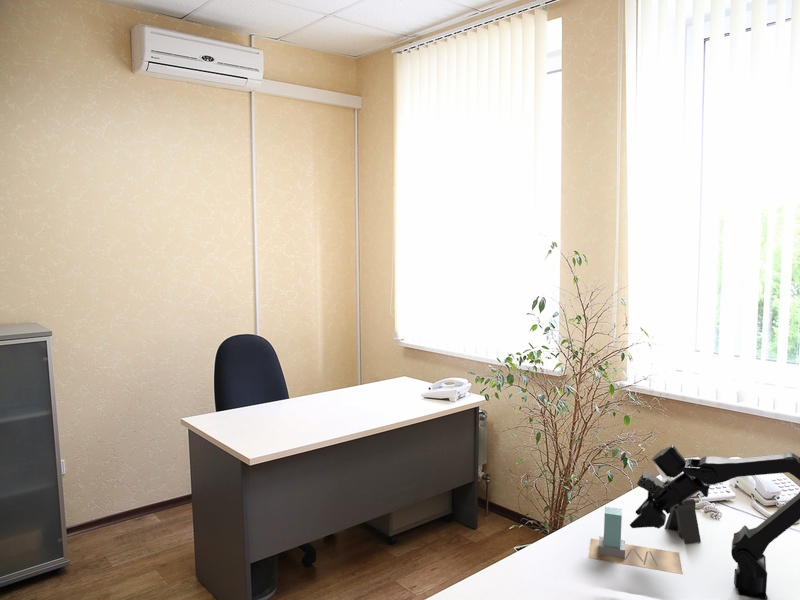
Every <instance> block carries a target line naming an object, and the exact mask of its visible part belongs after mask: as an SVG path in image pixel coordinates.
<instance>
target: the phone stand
mask: <svg viewBox="0 0 800 600" xmlns="http://www.w3.org/2000/svg"><path fill="white" fill-rule="evenodd" d="M696 504H697V503H696V500H695V498H692V496H691V497H690V498H688V499H687V500H685V501H684V503H683V505H681V506H679V505H677V506H676V507H674V508H673V509H671V512H670V513H669V514H668V517H667V519H666V520H667V521H666V522H665V524H664V530H667V531H673V532H678V537H679V538H680V539H681V540H683V542H684V544H685V545H688V544H695V543H701V542H702V540H701V534H700V530H699V523H698V518H697V512H696Z"/></svg>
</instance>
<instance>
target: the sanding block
mask: <svg viewBox="0 0 800 600" xmlns="http://www.w3.org/2000/svg"><path fill="white" fill-rule="evenodd" d="M622 510H623V509H622V508H617V507H610V506H604V519H603V520H604V521H603V522H604V523H603V536H599V537H598V540H599V552H598V554H599V555H605V556H611V557H617V558H623V559H625V544H626V540H625V539H622V521H623V519H622V518H623V517H622V516H623V511H622Z"/></svg>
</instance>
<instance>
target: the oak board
mask: <svg viewBox="0 0 800 600" xmlns="http://www.w3.org/2000/svg"><path fill="white" fill-rule="evenodd" d="M598 552H599V539H596V538H590V541H589V552H588V559H590V560H591V559H592V560H598V561H603V562H610V563H615V564H621V565H627V566H632V567H638V568H644V569H649V570H655V571H656V570H657V571H661V572H668V573H673V574H680V575H683V574H684V573H683V567H682V562H681V557H680V556H681V555H680V552H677V551H671V550H665V549H658V548H652V547H646V546H642V545H641V546H640V545H634V544H628V543H625V559H623V558H617V557H611V556H605V555H599V554H598Z"/></svg>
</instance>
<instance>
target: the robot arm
mask: <svg viewBox="0 0 800 600" xmlns="http://www.w3.org/2000/svg"><path fill="white" fill-rule="evenodd" d="M651 461H653V463H654V464H655V465H656V466H657V467H658V468H659V470H660V471H661V472H662V473H663V474H664V476H665V477H669V478H673V479H672V480H670V479H669V480H665V481H663V480H661V479H660V478H659V477H656V476H655V475H654V474H652V473H650V472H648V470H644V471H643V472H642V473H641V476H640V478H639V479H638V480H637V483H636V484H637V486H638V487H639V488H640V489H641V488H642V489H644V490H645V491H646V492H647V498H646V499H645V500H644V501H643V503H642V504H640V506H639V507H638V508H637V509H636V510H635V515H637V517H636V518H635V519H634V520H633V521H631V523H630V524H629V526H630V527H631V529H638V528H639V529H641V528H642V529H643V528H655V529H660V528H662V527H663V526H664V527H665V525H666V522H667V521H666V520H667V515H669V514H670V512H671V509H673V508H674V507H676V506H677V505H679V506H681V505H683V503H684V501H685V500H687V499H688V498H690V497H691V498H692V497H693V496H694V495H696V494H698V493H699V492H700V493H701V494H702V495H703V496H704V497H705V498H708V496H709V493H710V492H709V490H710V486H714V485H716V484H721V483H722V484H723V483H724V482H727V481H730V480H731V479H735V478H739V477H751V476H753V477H754V476H762V475H775V474H784V473H787V474H790V475H792V476H793V477H795V478H796V479H797V480H798V481H800V456H798V455H797V454H795V453H793V452H785V453H781V454H772V455H763V456H753V457H743V458H728V457H724V456H710V455H709V456H708V455H707V456H703V457H702V458H684V456H682V454H681V453H680V452H679V450H678V448H676V447H675V445H670V446H669V447H666V448H663V449H661V450H660V451H658V452H657V453H656V454H655V455H654V456H653V457H652V458H651ZM691 498H690V499H691ZM665 513H666V514H665ZM799 520H800V491H799V492H798V493H797V494H795V496H793V497H792V498H791V499H790V500H788V501H787V502H786V503H784V505H782V506H781V507H780V508H778V509H777V510H776V511H775V512H774V513H772V514H771V515H770V516H768V517H767V518H766V519H765V520H763V521H762V522H761V523H760V524H758V526H756V527H754V528H749V527H748V526H747V525H746V524H745V525H743V526H742V528H741V529H740V530H739V531H737V532H734V533H733V538H732V541H731V550H730V551H731V556H732V557H731V558H732V559H733V560H734V562H735V563H737V566H736V568H735V569H734V575H733V585H734V587H735V589H736V590H737V594H738V595H740V596H743V597H749V598H753V599H754V598H755V599H759V600H768V595H767V584H768V583H767V581H768V572H767V563H766V561H767V558H766V556H765V554H764V553H765V551H766V549H768V546H769V545H770V544H771V543H772V542H774V540H775V539H777V538H778V537H779V536H781V535H782V534H784V532H786V531H787V530H788V529H790V528H791V527H792V526H793V525H795V524H796V523H797V522H799Z"/></svg>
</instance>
